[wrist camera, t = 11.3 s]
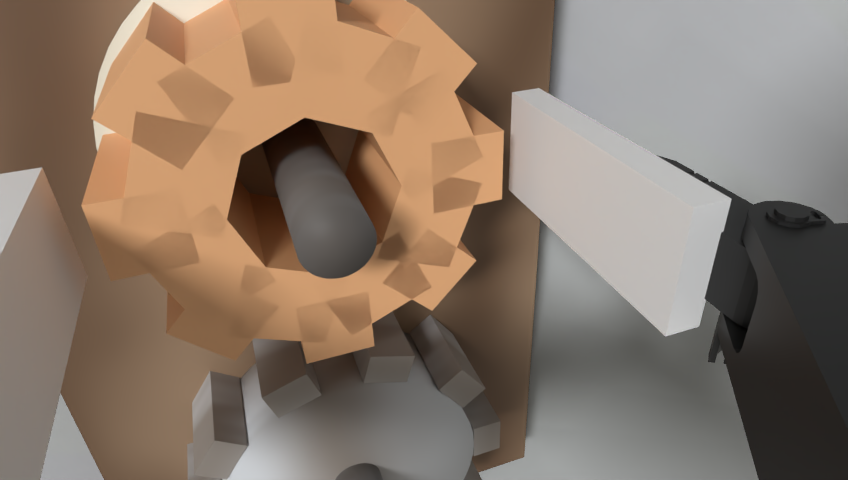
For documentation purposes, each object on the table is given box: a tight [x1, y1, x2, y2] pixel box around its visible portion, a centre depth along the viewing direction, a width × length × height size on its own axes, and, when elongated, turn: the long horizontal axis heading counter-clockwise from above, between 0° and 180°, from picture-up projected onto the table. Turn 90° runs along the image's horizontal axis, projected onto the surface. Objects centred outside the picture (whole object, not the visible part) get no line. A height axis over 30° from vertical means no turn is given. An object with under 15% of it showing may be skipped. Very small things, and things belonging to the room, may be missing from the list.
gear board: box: [0, 0, 555, 480], centre depth 18 cm, size 16×22×8 cm
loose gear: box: [81, 0, 504, 364], centre depth 15 cm, size 9×9×4 cm
